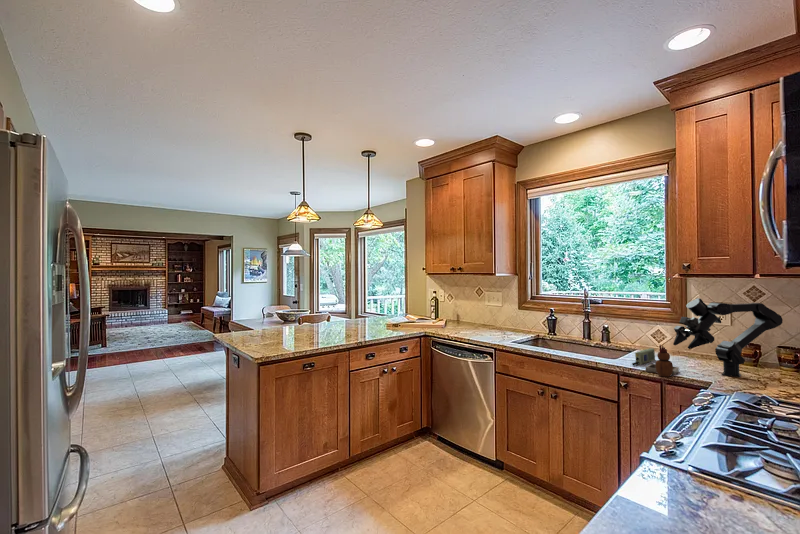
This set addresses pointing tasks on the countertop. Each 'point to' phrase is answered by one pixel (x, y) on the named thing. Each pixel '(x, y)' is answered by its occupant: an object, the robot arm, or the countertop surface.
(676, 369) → the grey shallow tray
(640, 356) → the handheld radio
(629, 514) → the countertop surface
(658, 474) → the countertop surface
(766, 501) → the countertop surface
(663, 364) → the wooden figurine
